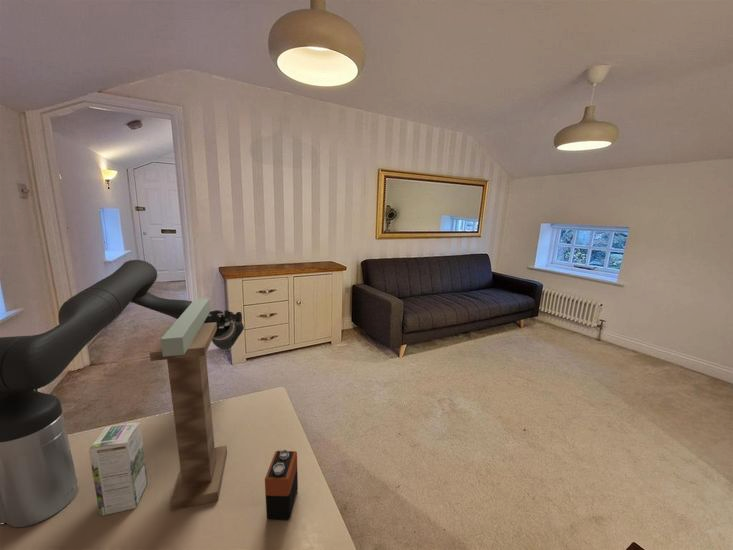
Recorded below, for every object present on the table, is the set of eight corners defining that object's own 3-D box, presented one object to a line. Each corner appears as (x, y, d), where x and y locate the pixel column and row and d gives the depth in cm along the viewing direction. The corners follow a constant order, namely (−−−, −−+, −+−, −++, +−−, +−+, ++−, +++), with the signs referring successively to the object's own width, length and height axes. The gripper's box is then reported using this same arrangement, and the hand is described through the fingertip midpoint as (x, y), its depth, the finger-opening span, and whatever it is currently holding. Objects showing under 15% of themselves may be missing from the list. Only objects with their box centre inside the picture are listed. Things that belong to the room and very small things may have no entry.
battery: (265, 521, 55) (263, 475, 52) (277, 487, 61) (275, 445, 59) (289, 522, 55) (288, 476, 52) (298, 488, 61) (297, 446, 59)
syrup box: (114, 489, 60) (103, 426, 57) (149, 482, 61) (140, 420, 58) (99, 517, 54) (85, 449, 51) (137, 508, 56) (127, 442, 53)
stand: (171, 511, 56) (149, 352, 49) (188, 460, 67) (172, 325, 60) (218, 500, 58) (204, 347, 51) (227, 452, 69) (216, 322, 63)
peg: (162, 356, 48) (160, 339, 47) (196, 311, 68) (194, 299, 68) (184, 354, 49) (182, 337, 48) (210, 310, 69) (209, 298, 69)
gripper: (192, 314, 86) (173, 301, 71) (245, 311, 90) (238, 298, 75) (191, 341, 84) (171, 333, 69) (245, 336, 88) (238, 328, 73)
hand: (206, 315), depth 72 cm, fingers open, 8 cm apart
